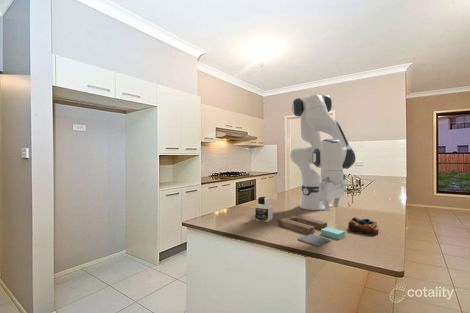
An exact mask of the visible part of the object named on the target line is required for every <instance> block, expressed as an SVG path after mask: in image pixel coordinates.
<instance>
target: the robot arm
mask: <svg viewBox="0 0 470 313" xmlns="http://www.w3.org/2000/svg"><path fill="white" fill-rule="evenodd" d="M332 107H333V101H332V98H331V97H330V95H328V94H323V95H319V94H312V95H310V96H304V97H301V98H300V97H298V98H295V99H294V100H293V101H292V104H291V112H292V113H293V115H294V116H295V117H300V137H301V139H302V140H303V141H305V142H306V143H308V144H310V145H311V146H300V147H295V148H293V149H292V150H291V152H290V159H291V161H292V162H293V163H294V164H295V165H296V166H297V167H298V169H299V170H300V173H301V181H302V182H301V183H302V185H301V193H300V199H299V200H300V201H299V202H300V203H298V205H299V208H301V209H303V210H308V211H325V212H330V211H331V208H339V207H340V206H339V204H340V199H341V197H344V194H345V188H346V187H345V185H346V183H345V181H346V180H347V175H346V174H345V173H344V169H345V170H348V169H350V168H351V167H352V166H353V165H354V164H355V163H356V154H355V152H354V151H355V150H353V148H352V147H351V146H350V144H349V142H348V140H347V138H346V135H345V133H344V131H343V129H342V127H341V125H340V123H339V122H338V121H337V120H335V119H334V118H333V117H332V116H331V115H330V113H329V112H330V111H331V110H332ZM321 132H322V133H324V134H328V135H329V136H331V137H332V138H325V139H323V140H322V138H321ZM311 165H314V166H315V167H316V168H320V172H319V171H318V170H316V169H314V168H312V167H311ZM332 200H333V204H332V203H331V201H332Z"/></svg>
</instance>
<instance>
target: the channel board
mask: <svg viewBox="0 0 470 313" xmlns="http://www.w3.org/2000/svg"><path fill="white" fill-rule="evenodd" d="M277 224H278V226H281V227H284V228H287V229H291V230H293V231H294V230H295V231H297V232H301V233H304V234H306V235H309V234H314V233H315V229H318V230H321V229H323V228H326V227H328V222H326V221H323V220H318V219H314V218H310V217H305V216H304V215H298V214H294V215H290V216H288V217H283V218H279V219H277Z"/></svg>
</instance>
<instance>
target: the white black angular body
mask: <svg viewBox="0 0 470 313" xmlns="http://www.w3.org/2000/svg"><path fill="white" fill-rule="evenodd" d="M257 199H258V200H257V202H258V203H257V204H258V206H255V207H254V208H255V221H259V222H266V223H269V222H270V221H271V220H273V205H271V204H270V202H271V201H270V198H269V197H268V196H260V197H259V196H258V198H257Z"/></svg>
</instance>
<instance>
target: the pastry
mask: <svg viewBox="0 0 470 313" xmlns="http://www.w3.org/2000/svg"><path fill="white" fill-rule="evenodd" d="M347 225H348V231H349V232H353V233H358V234H363V235H370V236H375V235H377V234H378V232H379V231H380V229H379V226H378V223H377V221H374V220H370V218H361V219H360V218H358V217H356V216H355V217H353V218H351V220H349V222H348V224H347Z"/></svg>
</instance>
